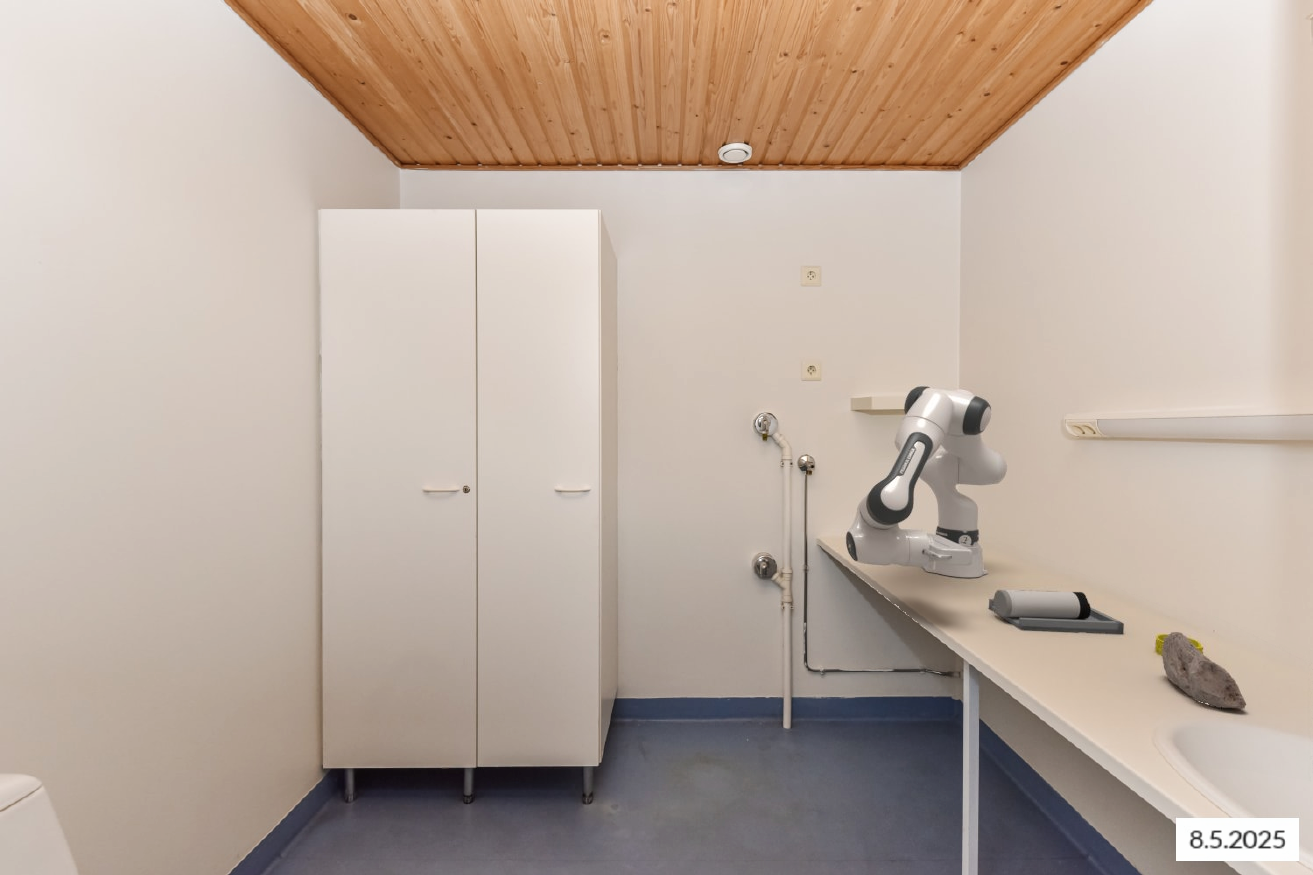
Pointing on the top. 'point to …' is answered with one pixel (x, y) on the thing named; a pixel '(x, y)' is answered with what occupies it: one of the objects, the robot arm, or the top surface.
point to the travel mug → (1042, 604)
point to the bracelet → (1160, 643)
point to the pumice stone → (1199, 674)
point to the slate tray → (1067, 623)
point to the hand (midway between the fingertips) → (975, 550)
